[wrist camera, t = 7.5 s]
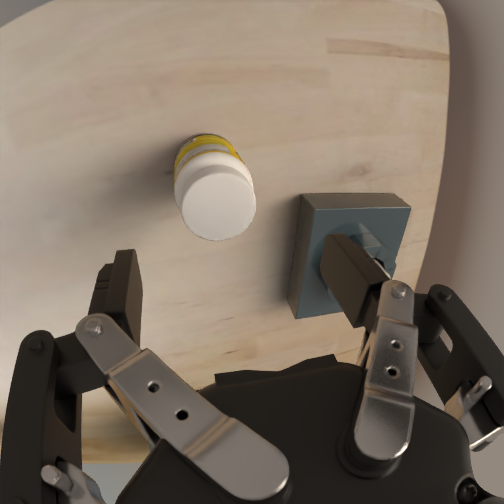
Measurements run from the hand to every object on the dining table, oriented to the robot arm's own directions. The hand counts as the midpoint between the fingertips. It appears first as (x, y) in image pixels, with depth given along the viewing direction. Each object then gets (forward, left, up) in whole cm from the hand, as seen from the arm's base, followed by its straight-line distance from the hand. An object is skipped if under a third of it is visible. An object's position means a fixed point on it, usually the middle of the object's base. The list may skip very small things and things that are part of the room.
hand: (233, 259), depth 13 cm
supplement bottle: (0, 0, -13) cm, 13 cm away
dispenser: (+9, +13, -13) cm, 20 cm away
